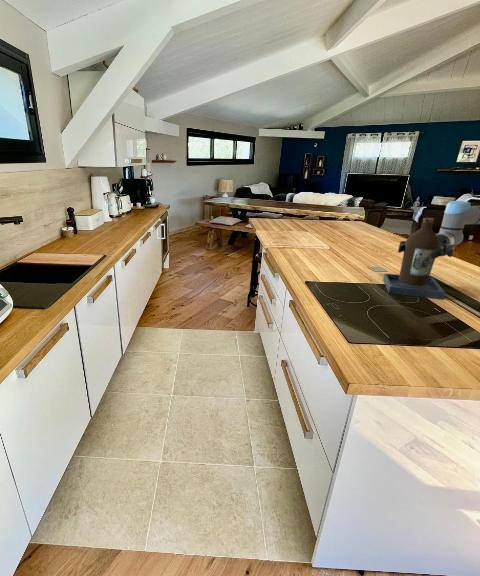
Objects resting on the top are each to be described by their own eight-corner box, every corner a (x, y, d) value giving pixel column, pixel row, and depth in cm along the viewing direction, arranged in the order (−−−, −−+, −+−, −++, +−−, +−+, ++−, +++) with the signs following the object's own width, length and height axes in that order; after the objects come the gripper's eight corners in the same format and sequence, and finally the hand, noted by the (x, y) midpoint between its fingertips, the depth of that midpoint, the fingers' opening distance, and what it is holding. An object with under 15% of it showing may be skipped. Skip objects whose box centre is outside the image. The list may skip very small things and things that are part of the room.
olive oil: (392, 276, 130) (406, 216, 121) (421, 277, 128) (438, 216, 119) (402, 285, 121) (418, 220, 111) (433, 287, 119) (452, 221, 109)
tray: (431, 284, 129) (433, 277, 128) (443, 299, 115) (445, 292, 114) (383, 279, 136) (384, 273, 135) (388, 293, 122) (390, 286, 121)
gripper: (471, 257, 122) (449, 269, 110) (406, 246, 139) (381, 255, 128) (477, 238, 119) (456, 248, 107) (410, 229, 136) (385, 237, 125)
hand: (415, 252), depth 117 cm, fingers closed on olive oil, 11 cm apart
